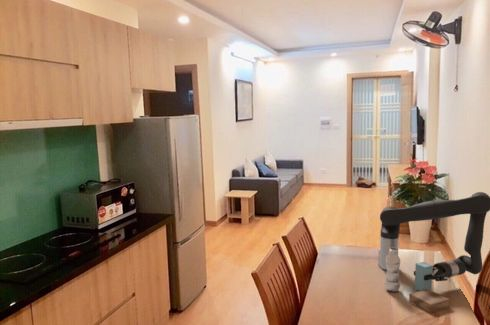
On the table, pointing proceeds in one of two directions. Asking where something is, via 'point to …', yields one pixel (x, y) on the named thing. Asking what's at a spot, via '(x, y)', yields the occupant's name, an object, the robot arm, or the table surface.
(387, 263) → the plastic bottle
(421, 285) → the blue block
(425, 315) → the table surface
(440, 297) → the walnut block
